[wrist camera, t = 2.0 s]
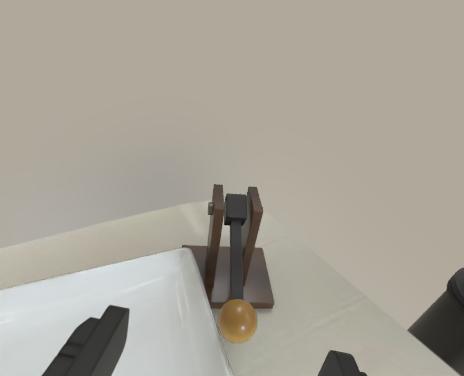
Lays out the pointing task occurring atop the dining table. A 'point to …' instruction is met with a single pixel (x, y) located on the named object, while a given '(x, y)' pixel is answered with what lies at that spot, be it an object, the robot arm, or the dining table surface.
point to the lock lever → (236, 277)
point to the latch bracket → (218, 258)
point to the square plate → (123, 295)
